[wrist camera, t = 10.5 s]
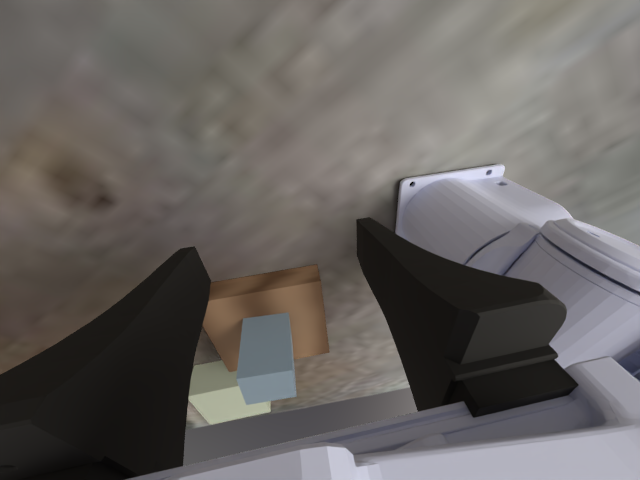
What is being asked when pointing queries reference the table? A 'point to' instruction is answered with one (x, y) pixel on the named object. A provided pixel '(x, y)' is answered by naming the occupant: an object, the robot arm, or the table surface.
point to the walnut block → (268, 310)
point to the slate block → (266, 359)
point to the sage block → (220, 394)
